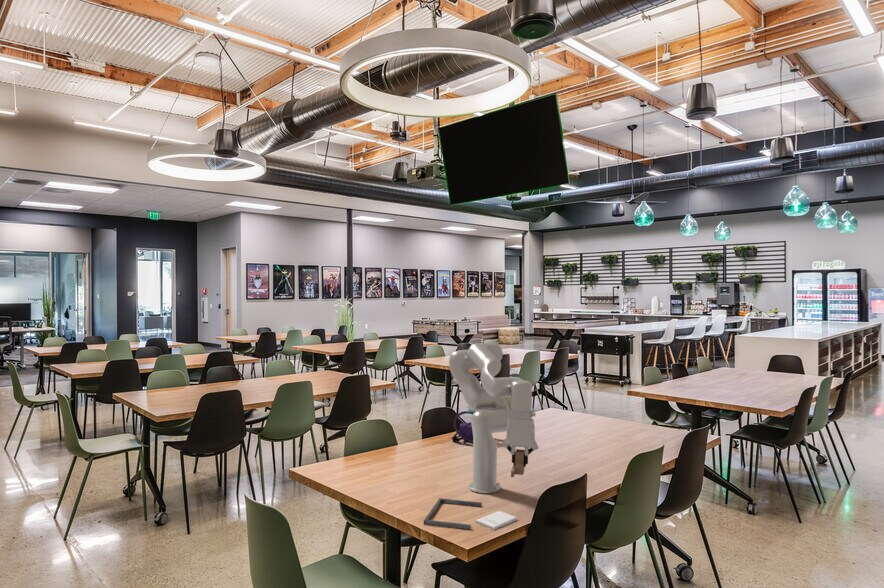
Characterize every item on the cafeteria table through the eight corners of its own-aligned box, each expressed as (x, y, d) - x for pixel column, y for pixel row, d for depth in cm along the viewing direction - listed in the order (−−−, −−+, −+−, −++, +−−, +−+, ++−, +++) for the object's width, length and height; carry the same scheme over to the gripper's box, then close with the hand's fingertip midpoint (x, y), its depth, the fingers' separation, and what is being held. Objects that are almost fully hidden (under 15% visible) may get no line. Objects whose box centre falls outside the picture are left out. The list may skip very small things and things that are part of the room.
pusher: (514, 467, 202) (514, 446, 202) (525, 468, 201) (525, 447, 201) (510, 477, 192) (511, 454, 192) (522, 478, 191) (522, 455, 191)
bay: (439, 501, 203) (439, 498, 203) (481, 505, 199) (481, 502, 199) (423, 524, 182) (423, 520, 182) (470, 529, 178) (470, 525, 178)
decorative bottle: (462, 434, 310) (462, 390, 311) (496, 438, 300) (496, 393, 301) (443, 442, 291) (444, 395, 291) (479, 447, 281) (480, 399, 281)
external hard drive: (516, 521, 186) (493, 532, 178) (498, 514, 192) (474, 524, 184) (516, 517, 186) (493, 527, 178) (498, 510, 192) (475, 519, 184)
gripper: (544, 414, 198) (543, 464, 198) (499, 411, 202) (498, 460, 202) (543, 418, 191) (541, 470, 191) (497, 415, 195) (495, 466, 195)
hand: (519, 464), depth 196 cm, fingers closed on pusher, 3 cm apart
